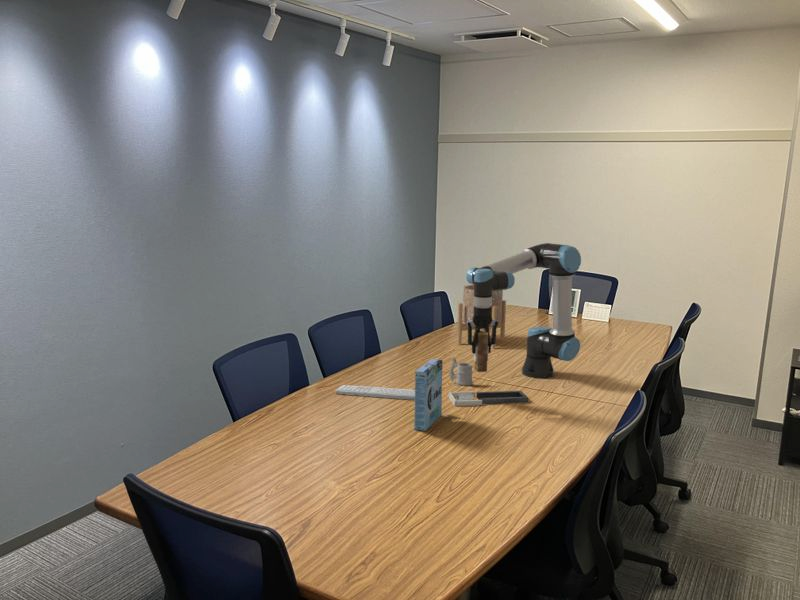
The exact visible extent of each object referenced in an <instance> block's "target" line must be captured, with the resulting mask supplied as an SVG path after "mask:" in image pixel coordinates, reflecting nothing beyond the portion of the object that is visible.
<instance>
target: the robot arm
mask: <svg viewBox="0 0 800 600" xmlns="http://www.w3.org/2000/svg"><path fill="white" fill-rule="evenodd" d="M581 265H582V257H581V253H580V252H579V250H578V249H577V248H576V247H575V246H572V245H567V244H559V243H551V242H545V243H540V244H536V245H534V246H530V247H527V248H525V249H523V250H522V251H521V252H520V253H517V254H515V255H511V256H509V257H506V258H505V259H501V260H499V261H496V262H493V263H490V264H487V265H485V266H482V267H470V268H469V269H468V270H467V271H466V275H465V276H466V281H467V282H468V284H469V285H474V311H473V318H472V320H471V321H467V322H466V323H465V324H467V326H468V330H467V344H468V345H469V346H471V353H472V354H473V361H474V363H475V362H477V351H478V347H477V346H476V343H477V339H478V332H479V331H480V330H482V329H481V328H484V330H485V331H486V332H488V353H487V362H489V354H491V352H492V349H491V346H492V345H493V344H495V345H496V343H495V342H496V339H497V329H498V328H497V325H498V322H497V321H496V320H492V317H491V316H492V308H491V307H490V306H492V291H497V290H503V291H506V290H508V289H512V288H513V287H514V285H515V280H516V279H515V276H514V274H516V273H518V272H521V271H524V270H526V269H529V270H532V269H535V268H536V269H537V268H541V269H548V275H549V276H550V277H551V278H552V326H551V327H550V326H535V327H530V328H528V330H527V336H526V357H525V360H524V362H523V365H522V367H521V373H522V375H524V376H525V377H530V378H536V379H546V378H551V377H553V376H554V372H555V371H554V367H553V362H552V359H551V358H554V359H557V360H560V361H565V362H571V361H573V360H574V359H575V358H576V357H577V355H578V354H579V352H580V348H581V341H580V339H579V338H577V337H576V331H575V330H574V329H573V328H572V319H573V318H572V312H573V311H572V308H573V306H572V304H573V301H572V299H573V298H572V296H573V295H572V294H573V293H572V292H573V290H572V289H573V288H572V287H573V285H572V284H573V278H574V276H575V275H576V272H577V271H578V270H579V269H580V266H581ZM491 322H492V335H490V334H491V333H489V327H488V326H489V325H490V324H491ZM472 323H474V324H475V330H474V331H473V330H472ZM473 332H474V333H473Z"/></svg>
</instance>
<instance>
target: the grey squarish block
mask: <svg viewBox="0 0 800 600" xmlns="http://www.w3.org/2000/svg"><path fill="white" fill-rule="evenodd" d="M462 392H463V393H457V397H456V401H462V400H466V395H465V393H464V392H465V391H462Z"/></svg>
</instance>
